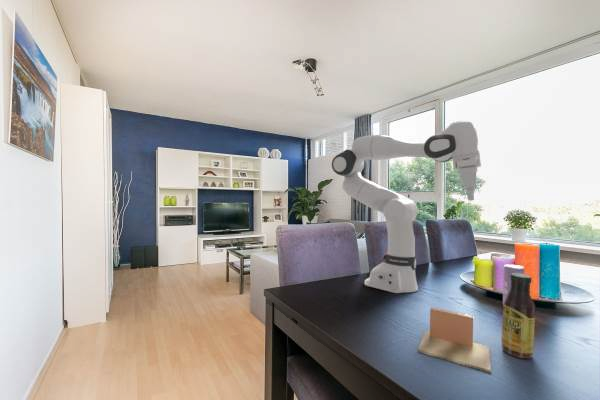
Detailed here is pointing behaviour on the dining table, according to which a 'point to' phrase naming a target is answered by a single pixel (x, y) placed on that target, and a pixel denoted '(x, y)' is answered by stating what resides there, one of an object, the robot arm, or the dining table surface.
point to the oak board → (456, 352)
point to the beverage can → (506, 277)
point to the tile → (451, 326)
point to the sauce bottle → (518, 318)
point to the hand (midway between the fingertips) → (470, 200)
